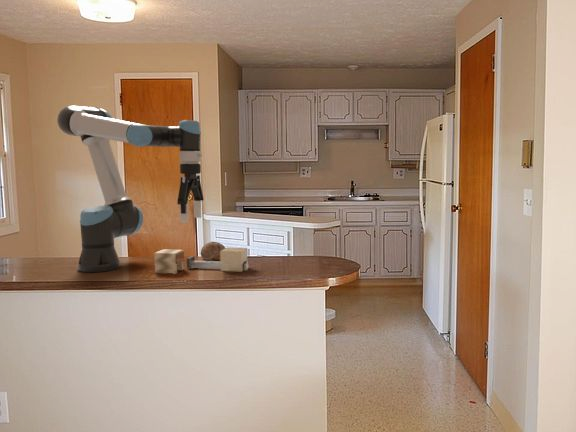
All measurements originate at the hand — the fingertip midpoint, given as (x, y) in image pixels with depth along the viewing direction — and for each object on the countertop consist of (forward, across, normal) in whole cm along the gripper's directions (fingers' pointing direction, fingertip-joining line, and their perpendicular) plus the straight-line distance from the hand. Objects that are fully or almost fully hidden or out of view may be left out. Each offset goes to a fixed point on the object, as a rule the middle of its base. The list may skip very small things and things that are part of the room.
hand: (191, 220), depth 194 cm
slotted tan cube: (+19, -5, +7) cm, 21 cm away
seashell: (+19, +18, -3) cm, 26 cm away
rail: (+18, +1, -10) cm, 21 cm away
